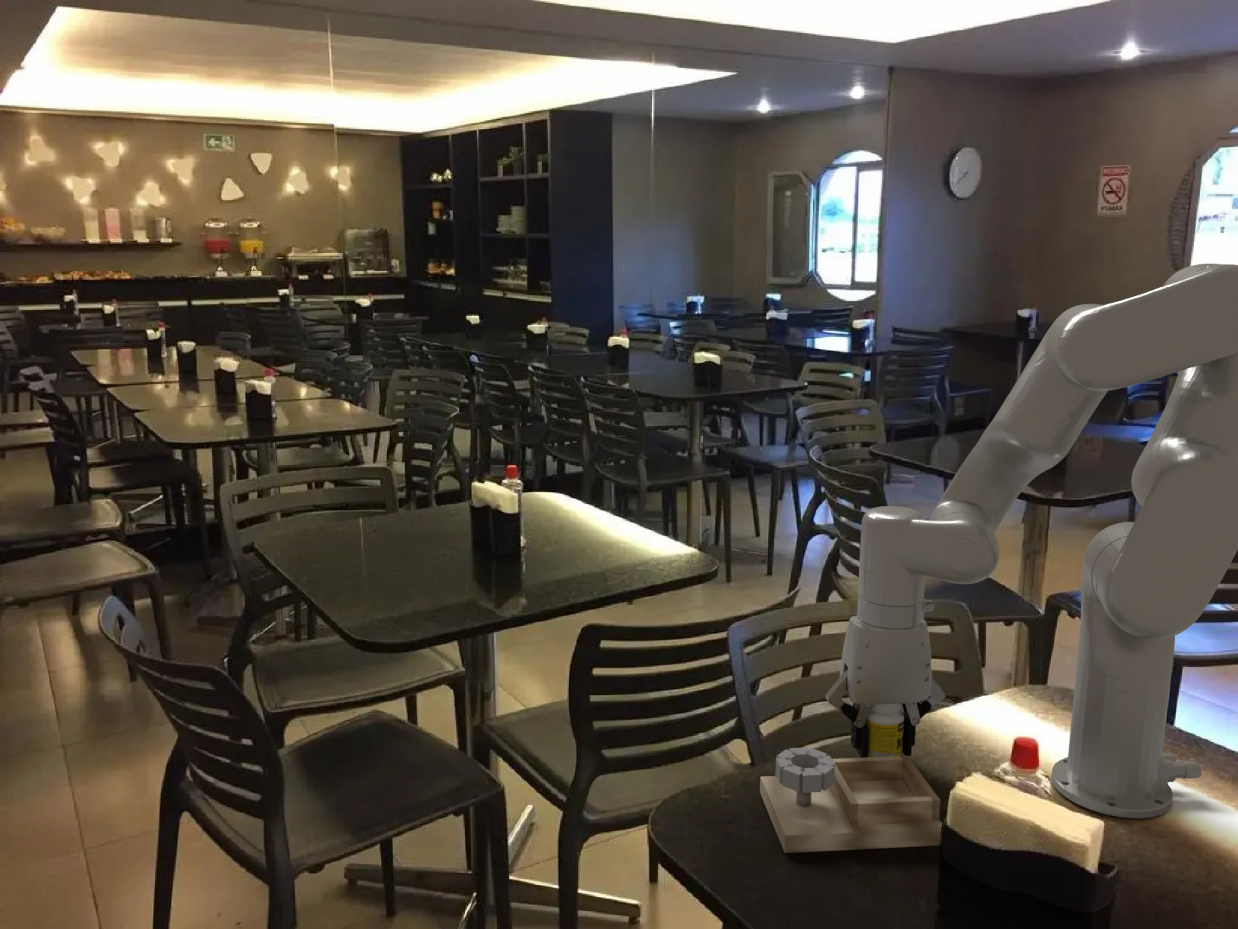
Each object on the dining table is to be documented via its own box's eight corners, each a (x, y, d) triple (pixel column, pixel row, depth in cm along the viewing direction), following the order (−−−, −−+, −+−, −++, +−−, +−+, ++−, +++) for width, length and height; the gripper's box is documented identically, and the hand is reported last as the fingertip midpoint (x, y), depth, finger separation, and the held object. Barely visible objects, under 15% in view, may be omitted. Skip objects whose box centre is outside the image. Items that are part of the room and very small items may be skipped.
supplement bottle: (903, 772, 119) (906, 707, 117) (862, 768, 120) (865, 704, 118) (900, 753, 124) (903, 690, 122) (861, 750, 125) (864, 687, 123)
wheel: (823, 763, 111) (824, 746, 111) (839, 791, 105) (840, 774, 105) (771, 765, 111) (771, 749, 110) (784, 793, 105) (784, 776, 104)
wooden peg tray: (903, 786, 116) (905, 742, 115) (943, 845, 104) (947, 797, 103) (759, 792, 115) (761, 748, 114) (784, 853, 103) (786, 805, 102)
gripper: (946, 598, 122) (937, 735, 126) (811, 602, 121) (806, 740, 125) (972, 620, 115) (962, 764, 118) (828, 624, 114) (822, 770, 117)
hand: (882, 750), depth 121 cm, fingers closed on supplement bottle, 4 cm apart
